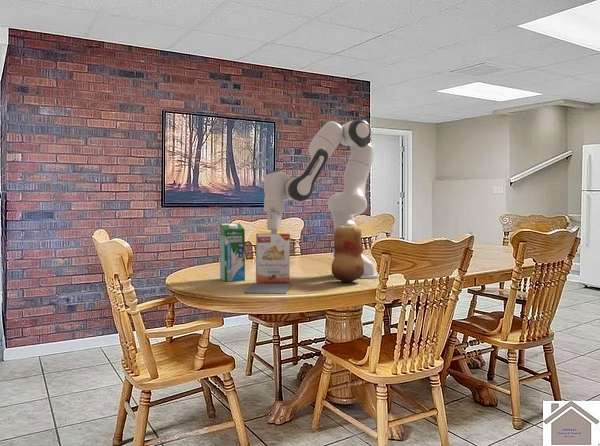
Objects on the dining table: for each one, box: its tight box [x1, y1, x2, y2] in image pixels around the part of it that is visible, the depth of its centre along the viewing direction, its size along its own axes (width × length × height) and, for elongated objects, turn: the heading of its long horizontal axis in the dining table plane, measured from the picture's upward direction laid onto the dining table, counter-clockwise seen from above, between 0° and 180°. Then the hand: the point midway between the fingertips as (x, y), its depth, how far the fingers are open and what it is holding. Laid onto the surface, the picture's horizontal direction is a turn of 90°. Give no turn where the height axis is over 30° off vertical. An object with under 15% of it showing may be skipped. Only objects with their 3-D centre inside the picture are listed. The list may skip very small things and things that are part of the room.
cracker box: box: [255, 232, 291, 283], centre depth 212 cm, size 14×6×21 cm, turn 101°
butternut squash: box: [331, 224, 364, 283], centre depth 212 cm, size 14×13×25 cm
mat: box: [243, 282, 291, 295], centre depth 198 cm, size 16×21×1 cm
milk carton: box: [219, 222, 246, 282], centre depth 220 cm, size 9×9×25 cm
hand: (274, 239), depth 218 cm, fingers closed
